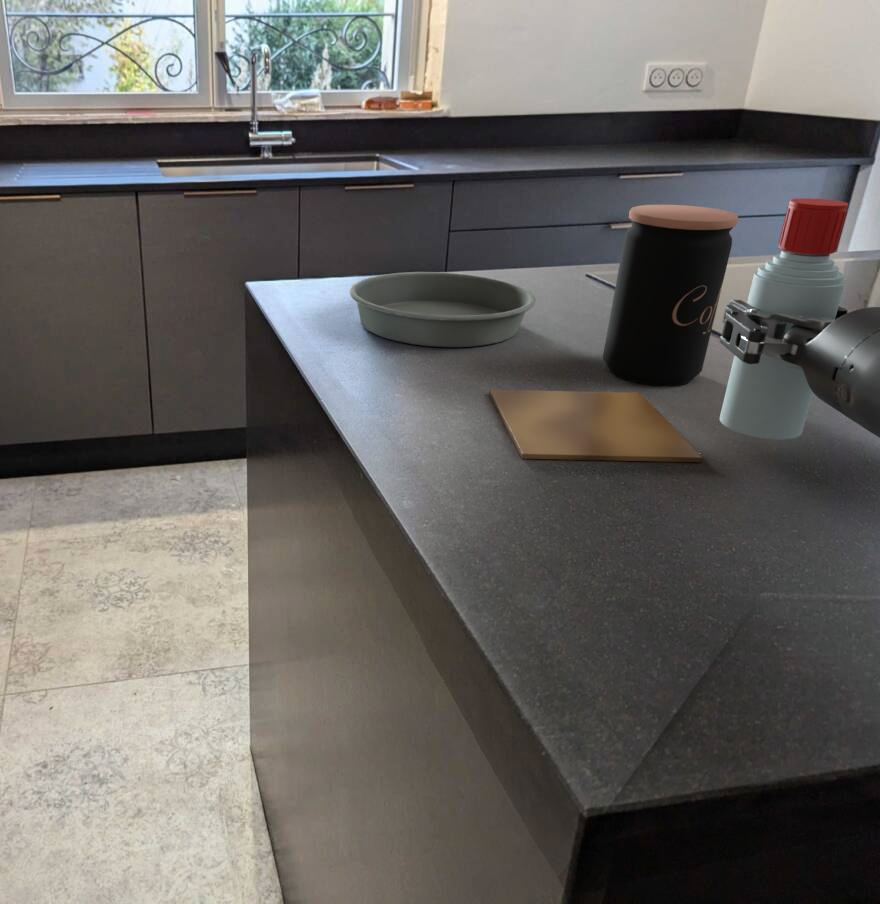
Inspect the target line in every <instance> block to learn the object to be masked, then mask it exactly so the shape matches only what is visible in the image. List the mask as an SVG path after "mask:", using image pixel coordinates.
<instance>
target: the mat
mask: <svg viewBox="0 0 880 904" xmlns="http://www.w3.org/2000/svg"><path fill="white" fill-rule="evenodd" d="M488 395H489V396H490V399H491V400H492V403H493V404H494V405H493V406H495V408H496V410H497V413H498V414H499V417H500V418H501V420H502V422H503V425H504V426H505V428H506V430H507V432H508V434H509V436H510V438H511V440H512V443H513V444H514V446H515V448H516V449H517V452H518V454H519V456H520V457H521V459H522V460H524V459H525V460H526V459H527V460H528V459H529V460H570V461H571V460H572V461H574V460H575V461H577V460H578V461H617V462H618V461H621V462H623V461H624V462H669V463H673V462H674V463H676V462H677V463H702V462H703V456H702V455H701V454H700V453H699V452H698V451H697V450H696V449H695V448H694V447H693V446H692V445H691V444H690V443H689V442H688V441H687V440H686V439H685V438H684V437H683V435H682V434H680V433H679V432H678V431H677V429H675V428H674V426H673V425H672V424H671V423H670V422H669V421H668V420H667V419H666V418H665V417H664V416H663V415H662V414H661V413H660V412H659V411H658V410H657V408H655V407H654V406H653V405H652V403H651V402H649V400H648V399H646V397H645V396H644V395H643V394H642V393H641V392H638V391H637V392H635V391H634V392H632V391H631V392H630V391H625V392H623V391H580V390H579V391H575V390H574V391H572V390H521V389H520V390H518V389H517V390H516V389H489V390H488Z"/></svg>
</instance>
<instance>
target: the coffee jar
mask: <svg viewBox="0 0 880 904" xmlns="http://www.w3.org/2000/svg"><path fill="white" fill-rule="evenodd" d="M628 218H629V219H630V222H631V226H630V227H629V228H628V229H627V231H626V232H625V234H624V238H623V244H622V248H621V249H622V250H621V255H620V260H619V266H618V271H617V277H616V281H615V282H616V283H615V287H614V291H613V292H614V293H613V298H612V304H611V309H610V315H609V320H608V326H607V331H606V336H605V343H604V346H603V354H602V359H603V362H604V363H605V365H606V368H607V370H608V371H609V373H612V374H613V375H615V376H616V377H618V378H620V379H623V380H626V381H629V382H633V383H637V384H642V385H643V384H644V385H648V386H649V385H650V386H659V387H660V386H661V387H673V386H682V385H686V384H689V383H690V382H692V381H693V380H694V379H695V378H696V377H697V376H699V375H700V374H701V373H702V371H703V367H704V363H705V359H706V355H707V351H708V347H709V343H710V339H711V334H712V331H713V330H712V329H713V326H714V321H715V318H716V313H717V309H718V304H719V300H720V297H721V294H722V288H723V284H724V279H725V276H726V272H727V267H728V263H729V258H730V255H731V250H732V247H733V237H732V236H731V234H730V232H731V231H732V230H733V228H735V227H736V226H737V223H738V220H739V215H738V214H737V213H734V212H731V211H728V210H724V209H719V208H713V207H705V206H697V205H684V204H683V205H682V204H643V205H637V206H633V207H631V208H630V209H629V212H628Z"/></svg>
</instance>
